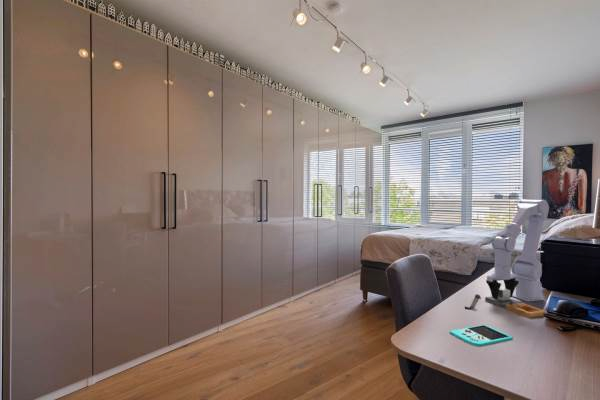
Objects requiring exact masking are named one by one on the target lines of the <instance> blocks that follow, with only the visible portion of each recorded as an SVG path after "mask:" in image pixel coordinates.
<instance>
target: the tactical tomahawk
mask: <svg viewBox="0 0 600 400" xmlns="http://www.w3.org/2000/svg"><path fill="white" fill-rule="evenodd" d="M480 297H481V295H480V294H475V295H474V298H473V300H472V302H471V304H470V306H464V309H465V310H470V311H473V312H477V311H478V309H476V308H475V306H476V304H477V303H478V301H479V300H480Z"/></svg>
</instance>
